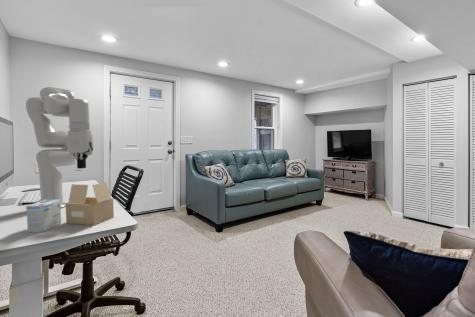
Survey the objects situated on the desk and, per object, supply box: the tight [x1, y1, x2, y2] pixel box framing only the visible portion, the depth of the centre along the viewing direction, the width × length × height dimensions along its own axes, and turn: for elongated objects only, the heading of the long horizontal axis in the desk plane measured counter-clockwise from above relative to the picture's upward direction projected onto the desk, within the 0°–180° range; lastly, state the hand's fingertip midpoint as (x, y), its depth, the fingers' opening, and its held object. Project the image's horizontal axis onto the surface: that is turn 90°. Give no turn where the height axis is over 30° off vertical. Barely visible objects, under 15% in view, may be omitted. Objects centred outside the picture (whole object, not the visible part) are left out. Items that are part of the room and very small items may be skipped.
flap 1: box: [68, 183, 89, 204], centre depth 105 cm, size 8×8×1 cm
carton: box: [65, 196, 115, 226], centre depth 110 cm, size 14×13×9 cm
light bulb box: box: [25, 199, 62, 233], centre depth 100 cm, size 11×7×11 cm, turn 5°
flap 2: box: [92, 181, 111, 203], centre depth 108 cm, size 8×8×1 cm
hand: (81, 168), depth 109 cm, fingers closed
